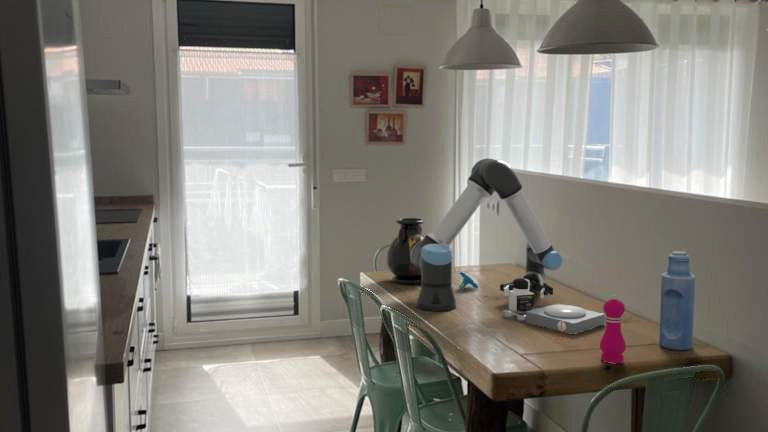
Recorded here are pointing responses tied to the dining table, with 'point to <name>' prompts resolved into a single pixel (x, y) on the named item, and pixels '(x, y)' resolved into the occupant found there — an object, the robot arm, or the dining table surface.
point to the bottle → (677, 303)
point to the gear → (467, 281)
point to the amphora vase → (405, 252)
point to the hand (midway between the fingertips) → (522, 293)
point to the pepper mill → (613, 331)
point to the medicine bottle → (521, 296)
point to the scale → (565, 318)
